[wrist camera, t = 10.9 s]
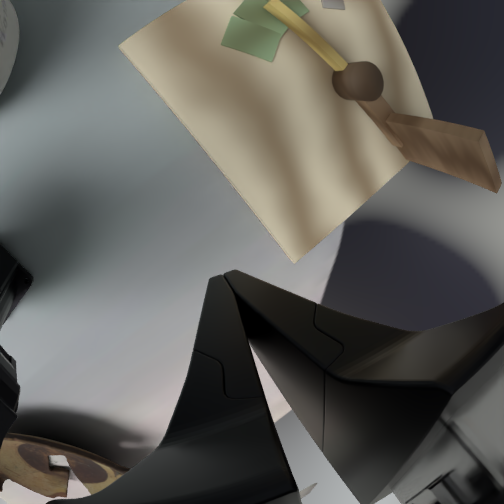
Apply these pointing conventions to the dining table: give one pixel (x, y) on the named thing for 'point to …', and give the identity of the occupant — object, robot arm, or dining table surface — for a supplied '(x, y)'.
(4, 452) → the oil lamp
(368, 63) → the brown piece
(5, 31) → the teacup
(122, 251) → the dining table surface
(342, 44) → the dial board
